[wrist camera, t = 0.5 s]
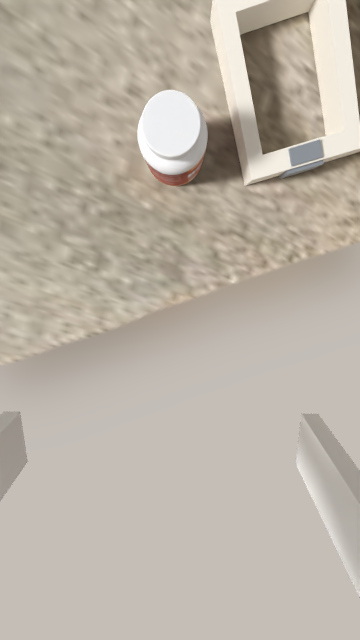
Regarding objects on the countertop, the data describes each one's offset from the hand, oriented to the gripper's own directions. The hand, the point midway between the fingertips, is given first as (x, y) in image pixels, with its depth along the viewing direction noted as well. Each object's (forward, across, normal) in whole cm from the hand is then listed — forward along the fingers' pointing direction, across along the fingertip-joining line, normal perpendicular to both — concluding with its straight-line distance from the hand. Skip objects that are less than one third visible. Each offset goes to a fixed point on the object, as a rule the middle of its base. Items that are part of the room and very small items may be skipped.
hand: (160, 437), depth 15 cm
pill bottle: (+26, 0, +17) cm, 31 cm away
